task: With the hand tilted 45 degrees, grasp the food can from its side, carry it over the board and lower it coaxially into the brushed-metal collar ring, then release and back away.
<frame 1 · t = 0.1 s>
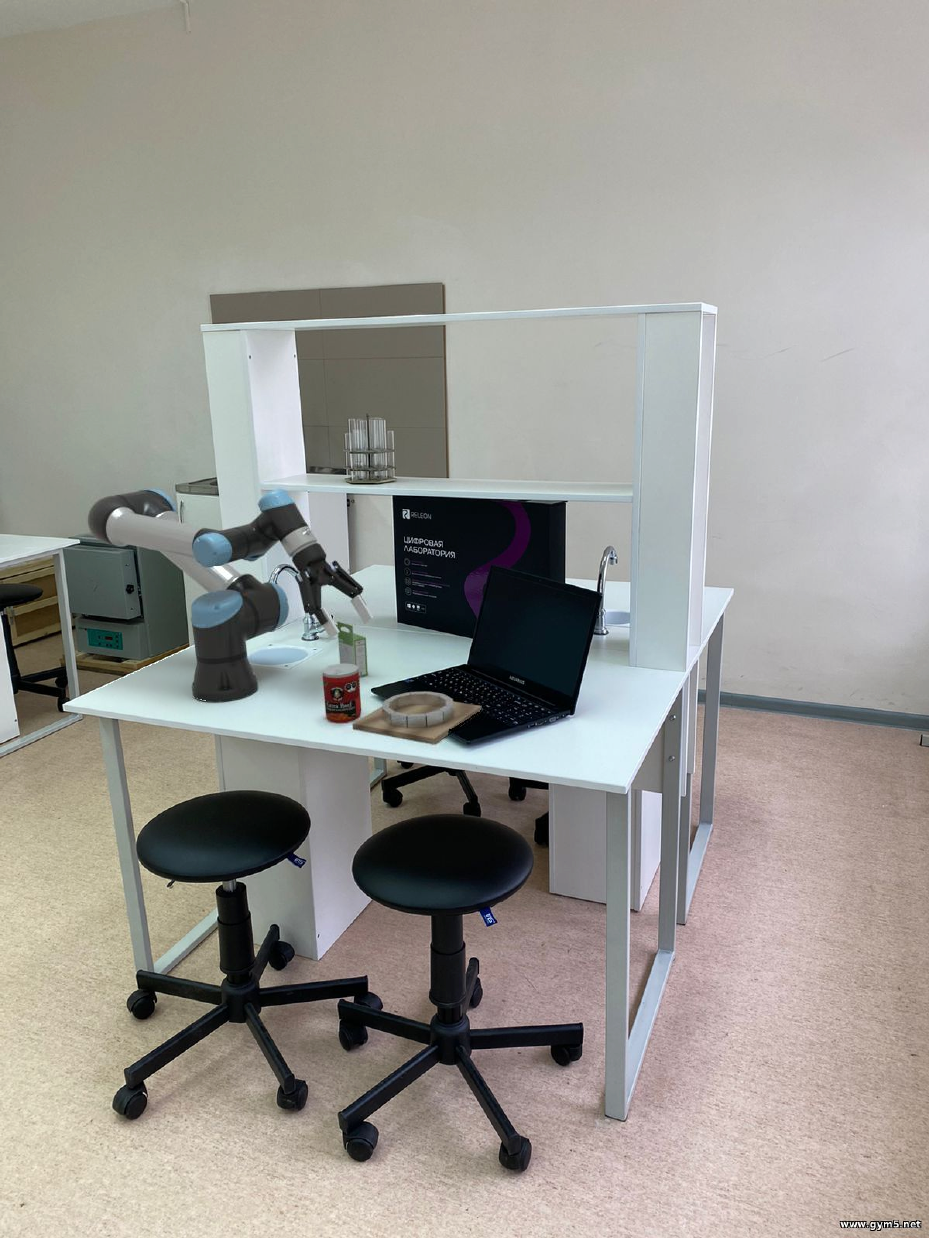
hand: (352, 628, 218), 15 cm above the table, tool tilted 35°, fingers open, 13 cm apart
board: (418, 719, 203), on the table
canned food: (343, 717, 206), on the table
collar: (417, 709, 202), on the board, point 2 cm above the table
ink box: (354, 674, 234), on the table
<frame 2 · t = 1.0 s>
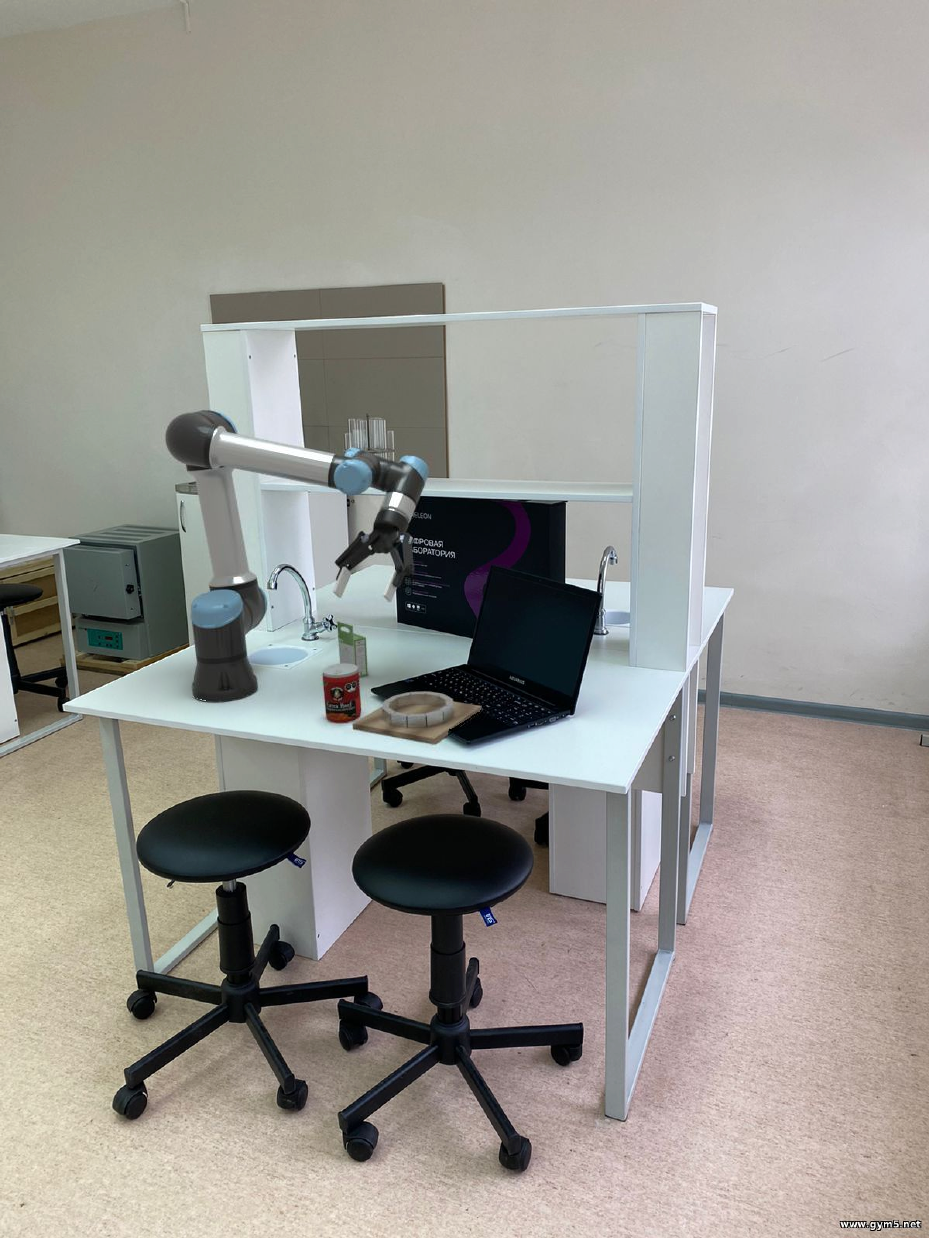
hand: (361, 596, 208), 25 cm above the table, tool tilted 45°, fingers open, 13 cm apart
nothing on the table moved.
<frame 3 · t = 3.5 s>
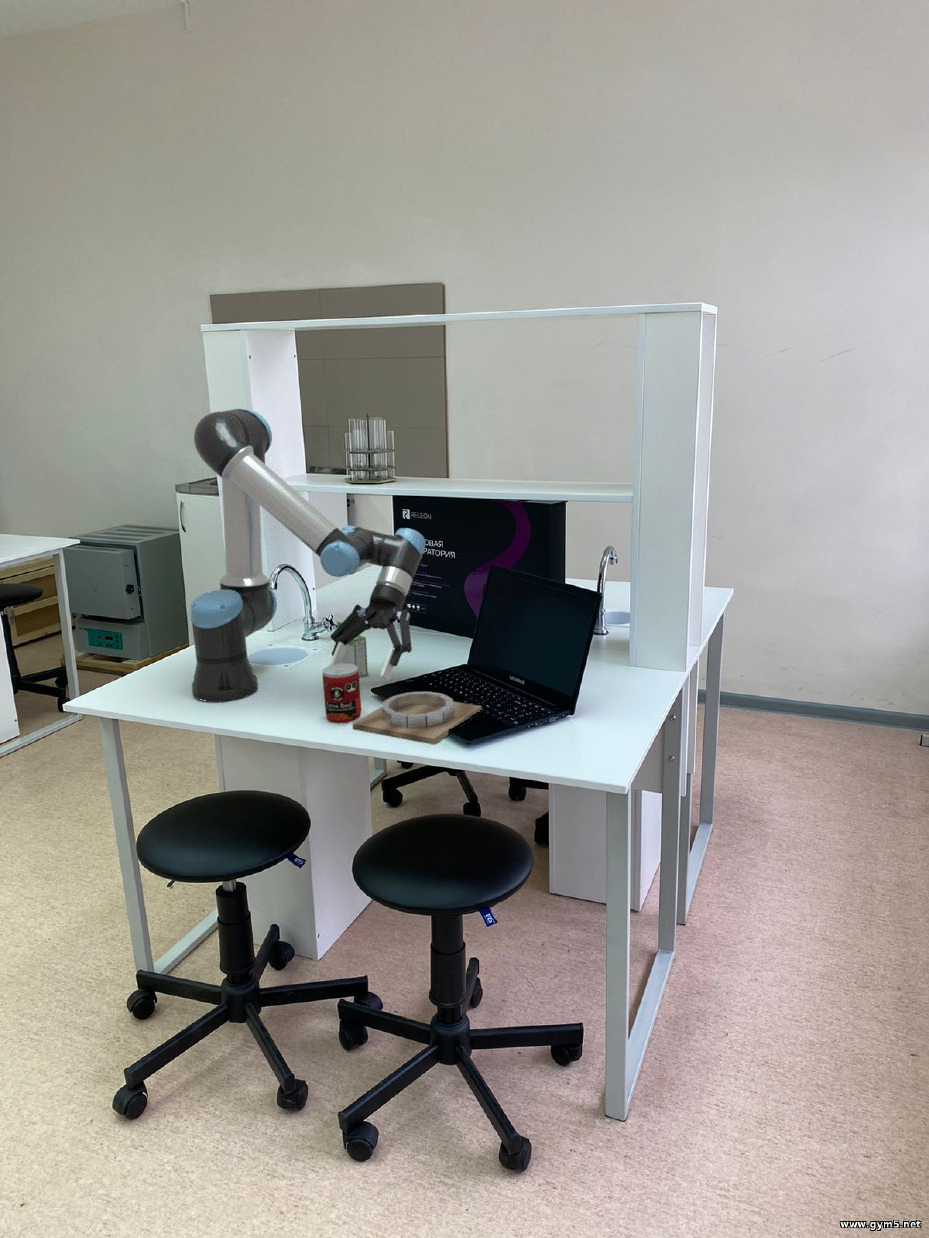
hand: (357, 674, 207), 9 cm above the table, tool tilted 45°, fingers open, 13 cm apart
nothing on the table moved.
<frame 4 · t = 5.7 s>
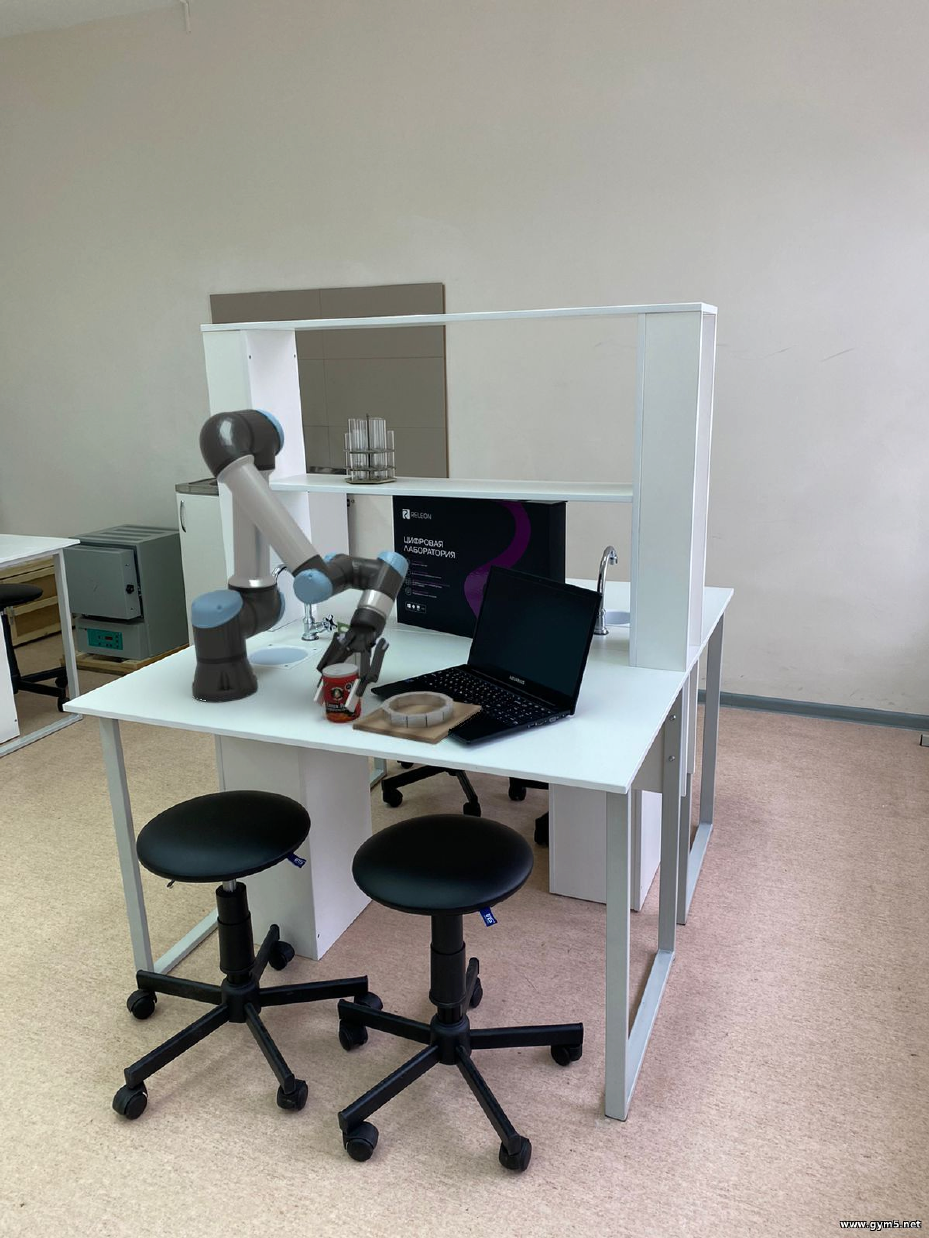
hand: (333, 706, 202), 4 cm above the table, tool tilted 45°, fingers closed on canned food, 8 cm apart
canned food: (343, 717, 206), on the table, touching gripper
everything else where it was.
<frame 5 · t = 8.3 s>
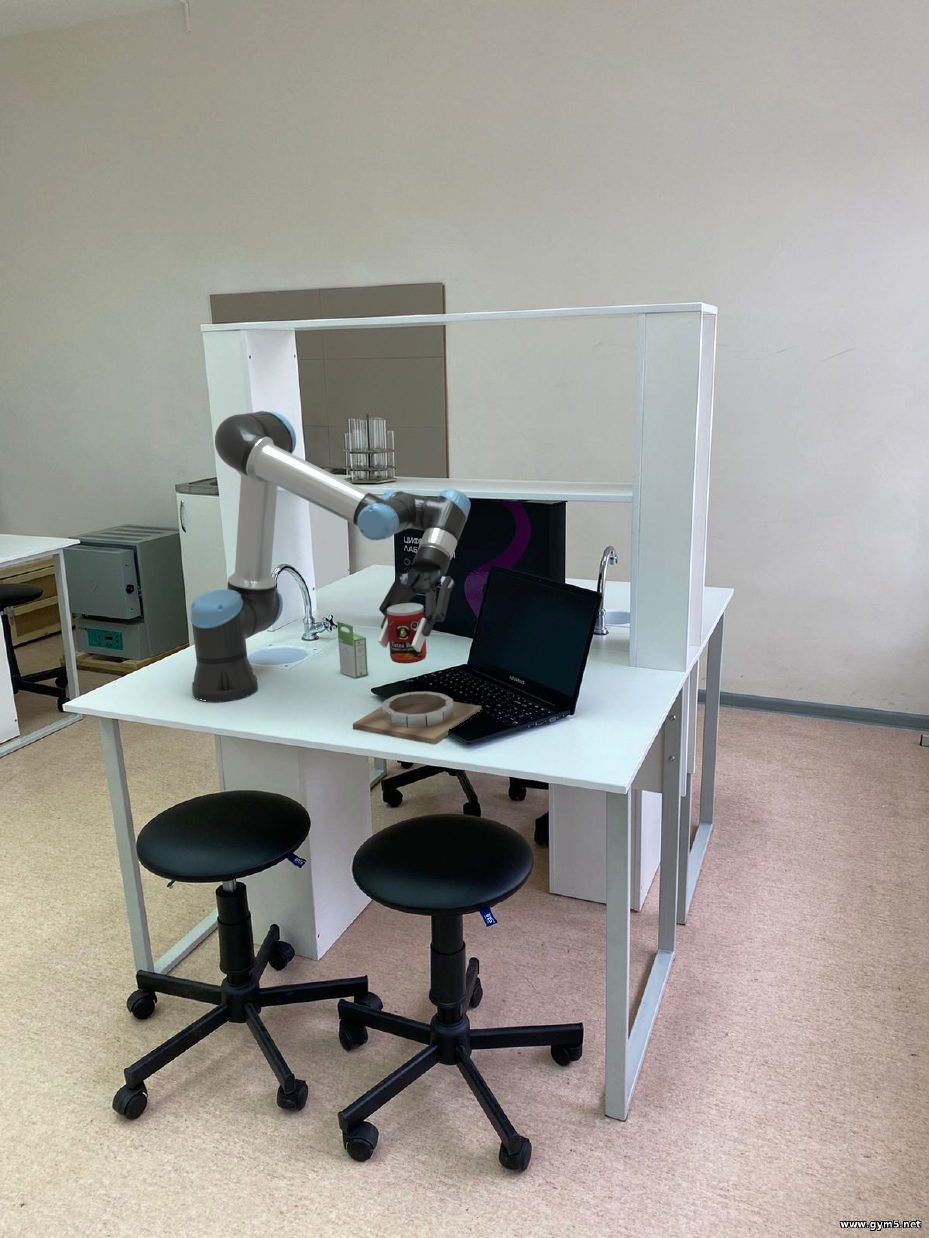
hand: (398, 646, 195), 17 cm above the table, tool tilted 45°, fingers closed on canned food, 8 cm apart
canned food: (408, 659, 199), point 14 cm above the table, touching gripper
everything else where it was.
when the fingers open (6 cm above the table, at t = 10.8 s): canned food drops 2 cm, resting on board.
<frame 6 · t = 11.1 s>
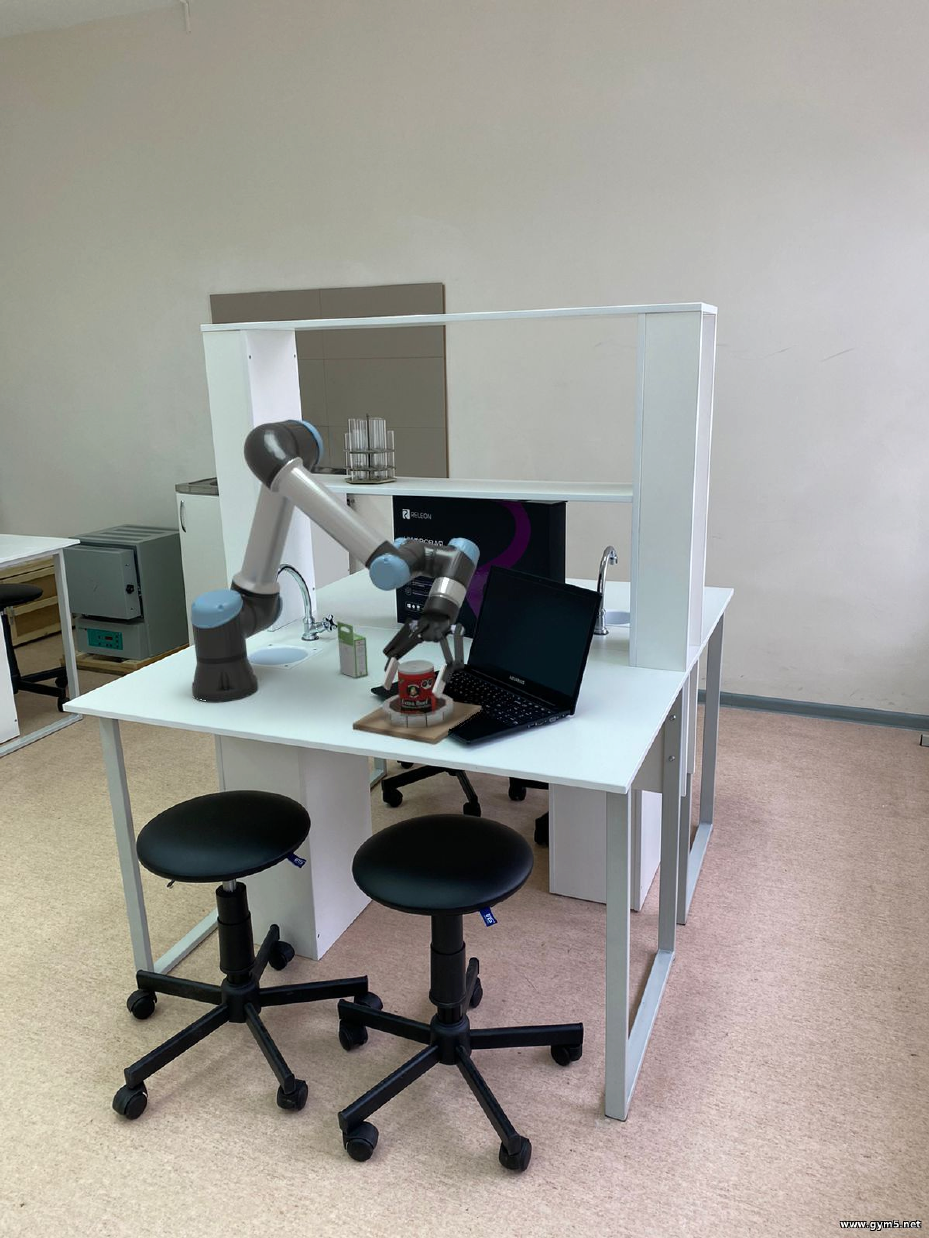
hand: (410, 691, 199), 7 cm above the table, tool tilted 45°, fingers open, 12 cm apart
canned food: (418, 715, 202), point 1 cm above the table, touching board
everything else where it was.
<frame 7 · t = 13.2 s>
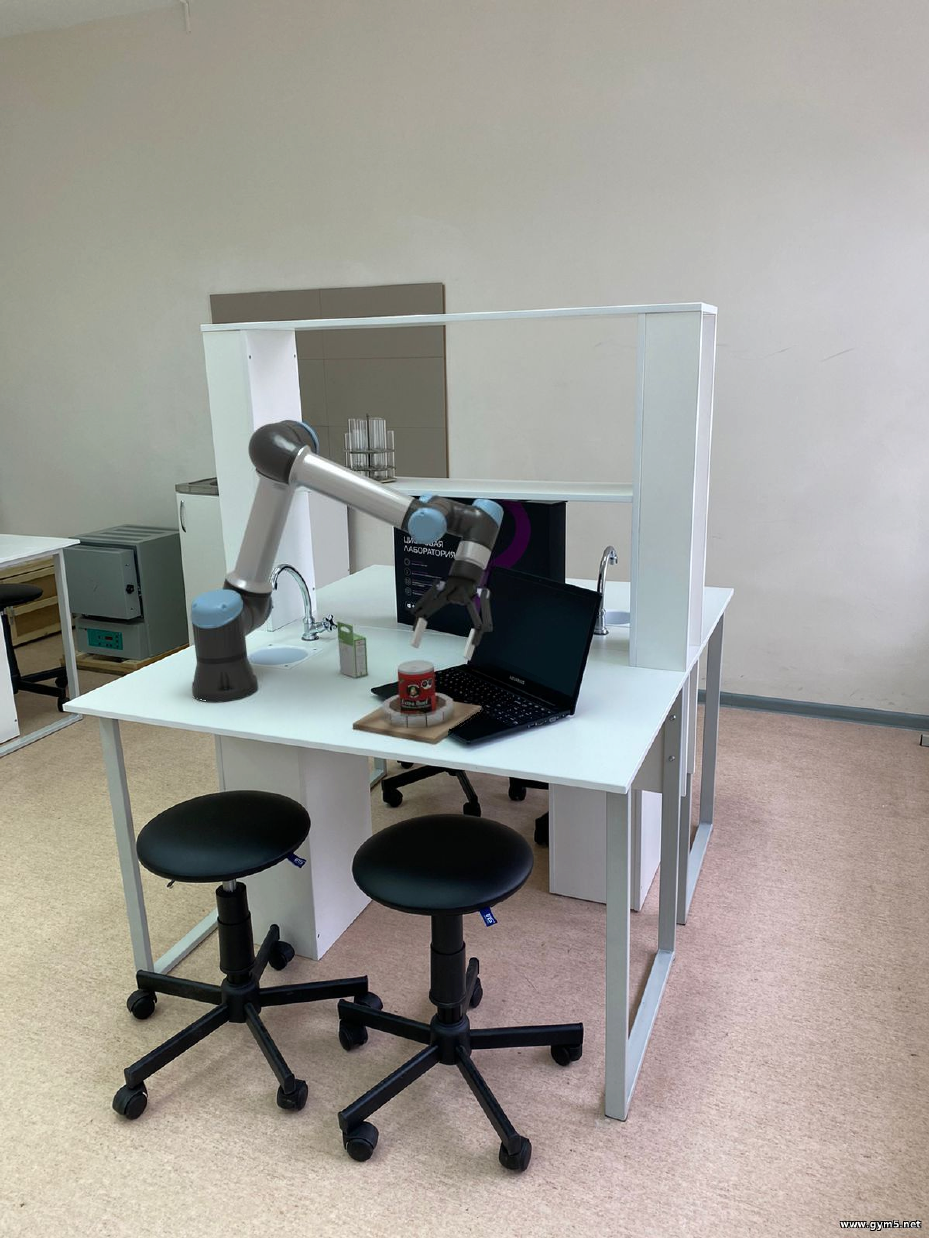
hand: (439, 652, 210), 11 cm above the table, tool tilted 35°, fingers open, 13 cm apart
nothing on the table moved.
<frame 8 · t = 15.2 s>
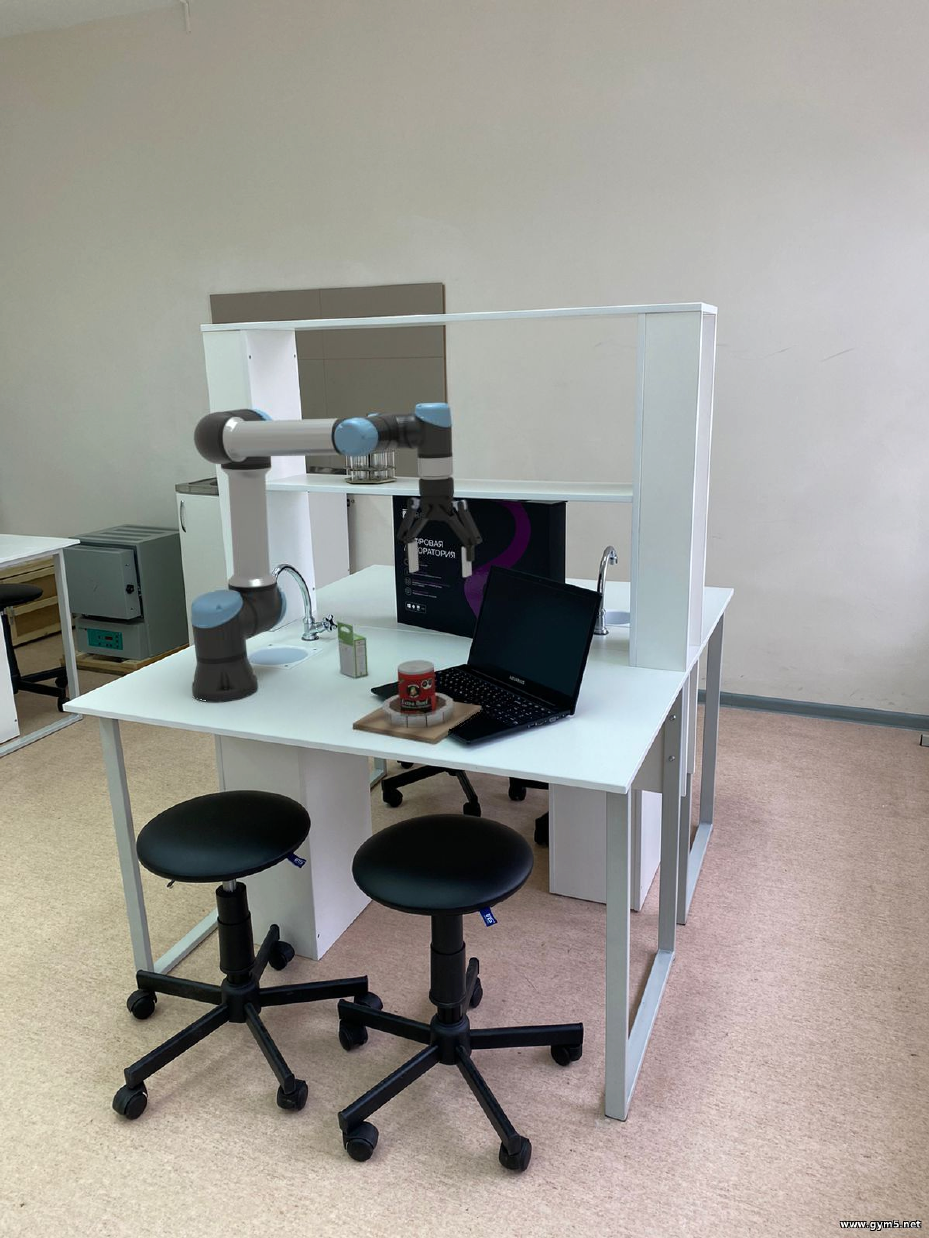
hand: (440, 573, 209), 29 cm above the table, tool pointing down, fingers open, 13 cm apart
nothing on the table moved.
at the end: canned food 0.1 cm from the collar (horizontally); canned food point 1.0 cm above the table; canned food tilted 0° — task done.
